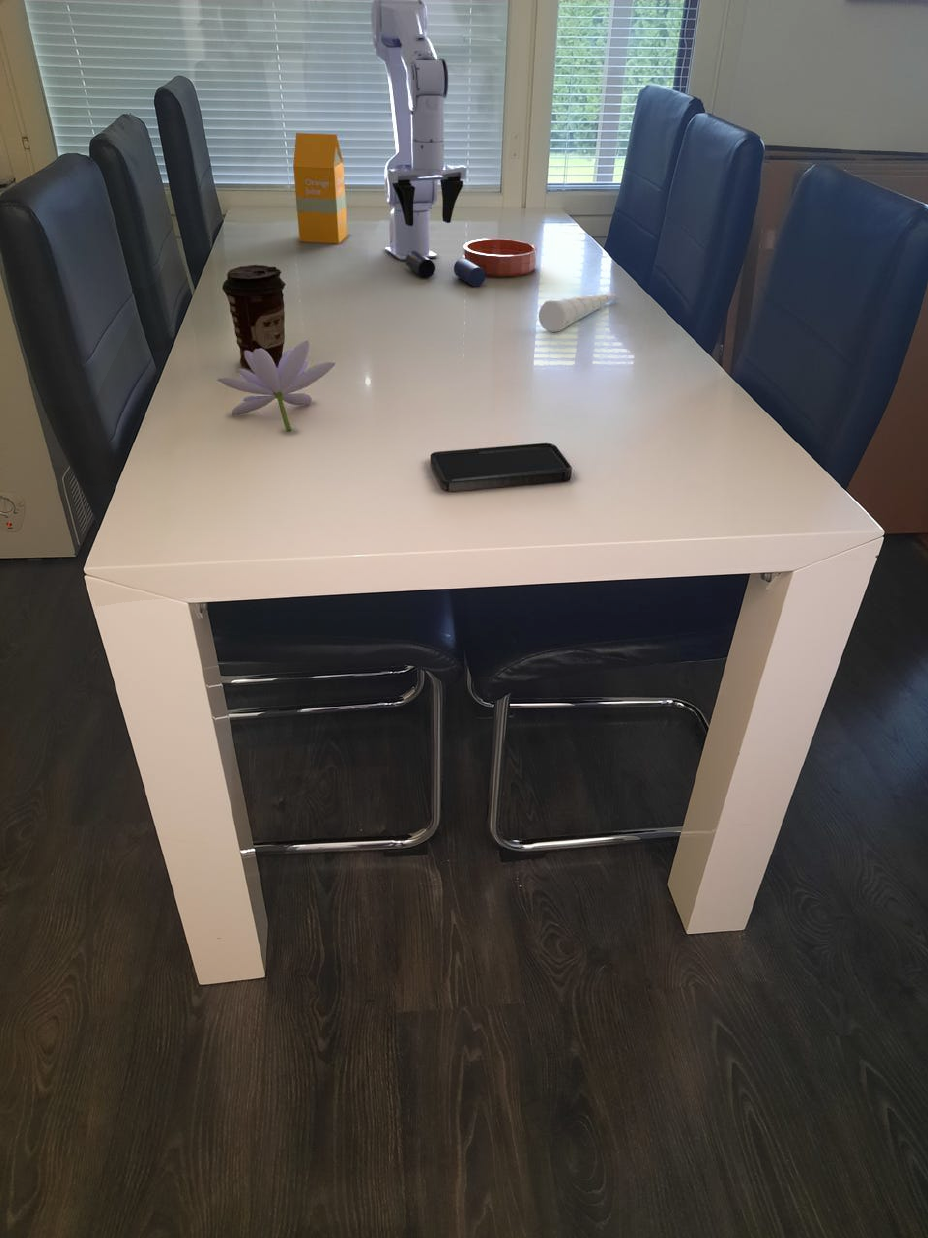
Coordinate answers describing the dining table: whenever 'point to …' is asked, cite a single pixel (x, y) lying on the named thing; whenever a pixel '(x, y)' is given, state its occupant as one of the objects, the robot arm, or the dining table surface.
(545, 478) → the phone
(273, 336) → the coffee cup
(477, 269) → the navy tube
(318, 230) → the orange juice
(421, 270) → the black cylinder
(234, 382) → the water lily
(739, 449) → the dining table surface
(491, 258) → the bowl
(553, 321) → the unicorn horn
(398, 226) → the robot arm
